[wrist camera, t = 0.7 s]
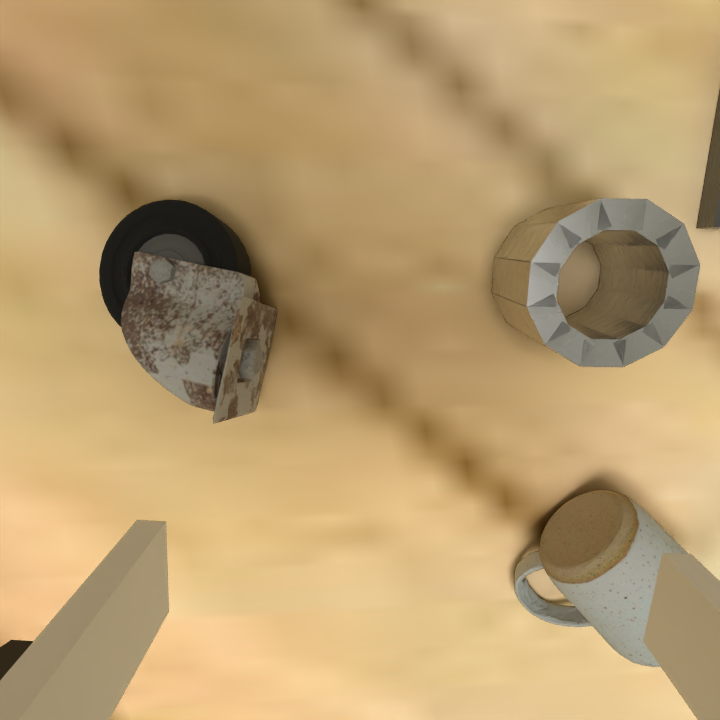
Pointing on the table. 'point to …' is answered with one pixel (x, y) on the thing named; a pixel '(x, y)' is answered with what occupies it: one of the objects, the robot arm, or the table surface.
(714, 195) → the shaft block
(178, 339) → the caster wheel
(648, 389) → the table surface
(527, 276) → the tube
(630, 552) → the ceramic mug
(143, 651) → the robot arm
